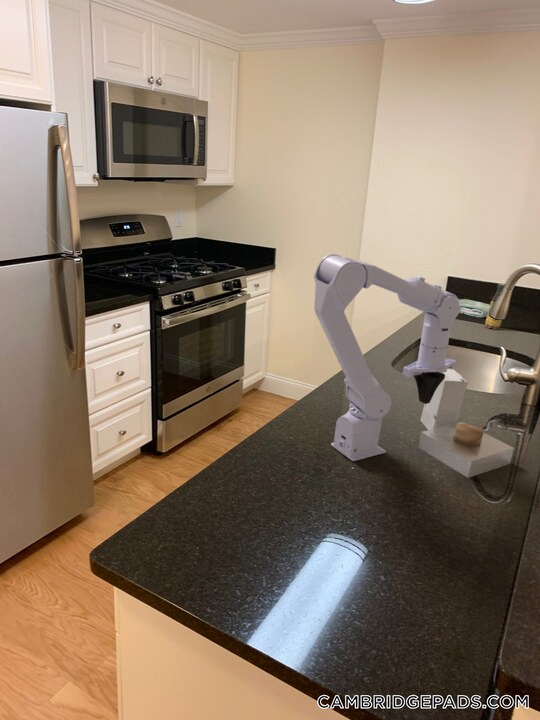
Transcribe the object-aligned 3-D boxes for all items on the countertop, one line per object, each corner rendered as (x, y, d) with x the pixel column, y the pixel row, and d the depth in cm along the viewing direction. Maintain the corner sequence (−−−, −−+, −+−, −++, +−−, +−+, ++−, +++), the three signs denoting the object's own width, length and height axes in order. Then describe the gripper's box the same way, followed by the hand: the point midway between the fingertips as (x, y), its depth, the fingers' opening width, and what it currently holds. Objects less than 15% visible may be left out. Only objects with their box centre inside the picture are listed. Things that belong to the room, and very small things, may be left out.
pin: (465, 462, 115) (471, 438, 113) (445, 450, 120) (450, 426, 118) (483, 457, 118) (488, 433, 116) (462, 445, 123) (467, 422, 121)
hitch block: (467, 477, 110) (471, 461, 109) (418, 447, 121) (421, 431, 120) (509, 464, 117) (513, 447, 116) (459, 436, 128) (462, 421, 127)
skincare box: (419, 421, 135) (430, 366, 130) (442, 422, 136) (453, 367, 131) (432, 437, 127) (444, 379, 122) (456, 437, 128) (468, 380, 123)
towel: (465, 306, 277) (467, 297, 275) (503, 316, 262) (506, 306, 260) (445, 309, 266) (447, 299, 264) (483, 320, 251) (486, 309, 249)
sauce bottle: (481, 326, 237) (490, 282, 230) (491, 325, 239) (501, 282, 233) (492, 330, 231) (502, 285, 224) (503, 329, 234) (513, 285, 227)
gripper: (424, 354, 109) (414, 414, 113) (471, 346, 116) (460, 403, 121) (399, 344, 114) (391, 402, 119) (445, 337, 122) (436, 391, 126)
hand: (424, 401), depth 120 cm, fingers closed
